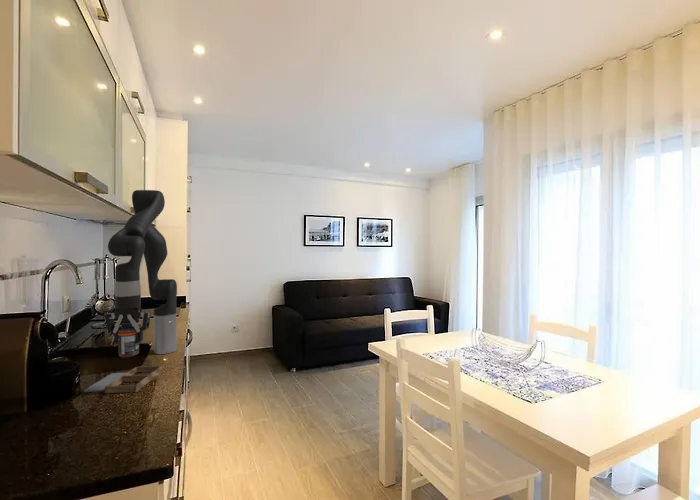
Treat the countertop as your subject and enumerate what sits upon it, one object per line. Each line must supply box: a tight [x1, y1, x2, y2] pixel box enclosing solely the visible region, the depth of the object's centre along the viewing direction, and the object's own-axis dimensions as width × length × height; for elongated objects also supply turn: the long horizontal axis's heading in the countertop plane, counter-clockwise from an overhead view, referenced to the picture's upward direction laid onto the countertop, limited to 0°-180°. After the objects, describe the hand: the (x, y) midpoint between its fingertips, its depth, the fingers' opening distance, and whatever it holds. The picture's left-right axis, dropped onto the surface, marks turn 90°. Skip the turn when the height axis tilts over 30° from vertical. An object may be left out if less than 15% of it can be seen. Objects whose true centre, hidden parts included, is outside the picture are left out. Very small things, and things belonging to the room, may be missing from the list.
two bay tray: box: [104, 365, 164, 394], centre depth 124 cm, size 20×10×2 cm, turn 6°
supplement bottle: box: [117, 323, 140, 358], centre depth 119 cm, size 6×6×11 cm
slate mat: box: [83, 372, 127, 393], centre depth 123 cm, size 16×6×1 cm, turn 6°
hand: (128, 342), depth 119 cm, fingers closed on supplement bottle, 6 cm apart
